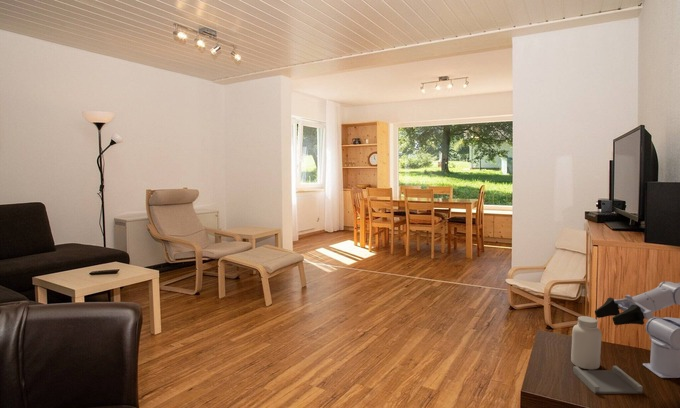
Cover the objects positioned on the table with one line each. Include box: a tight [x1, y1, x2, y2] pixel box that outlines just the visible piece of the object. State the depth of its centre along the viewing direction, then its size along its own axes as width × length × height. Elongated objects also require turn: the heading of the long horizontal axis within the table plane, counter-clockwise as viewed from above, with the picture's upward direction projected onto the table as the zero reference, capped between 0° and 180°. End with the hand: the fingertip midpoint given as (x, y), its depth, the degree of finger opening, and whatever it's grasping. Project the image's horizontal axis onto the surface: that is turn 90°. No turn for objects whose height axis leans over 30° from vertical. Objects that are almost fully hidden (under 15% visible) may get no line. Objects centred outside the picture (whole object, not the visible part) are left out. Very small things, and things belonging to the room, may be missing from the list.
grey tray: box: [572, 365, 643, 395], centre depth 121 cm, size 13×12×2 cm
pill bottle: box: [570, 315, 603, 370], centre depth 131 cm, size 8×8×15 cm
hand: (604, 317), depth 122 cm, fingers open, 7 cm apart
